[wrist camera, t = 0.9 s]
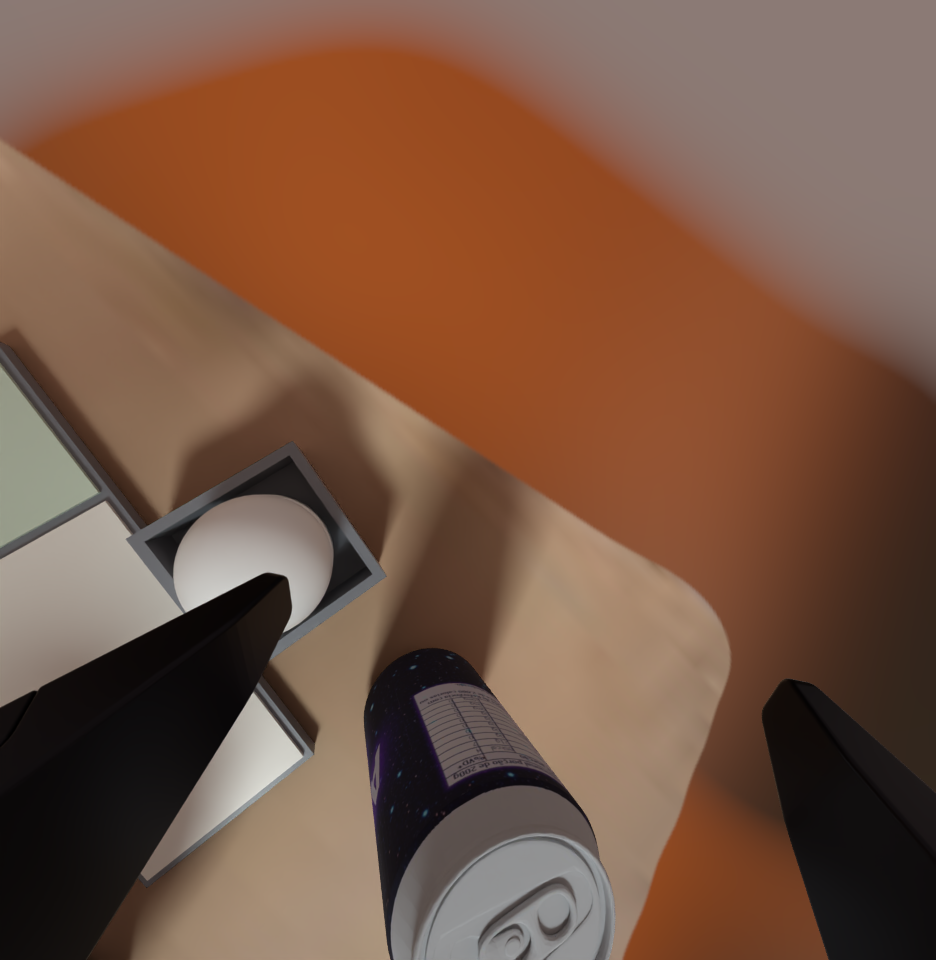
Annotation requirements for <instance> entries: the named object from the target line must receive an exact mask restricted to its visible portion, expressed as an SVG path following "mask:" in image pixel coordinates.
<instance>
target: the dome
mask: <svg viewBox="0 0 936 960" xmlns="http://www.w3.org/2000/svg"><path fill="white" fill-rule="evenodd" d="M333 558H334V548H333V541H332V537H331V534H330V531H329V529H328V527H327V525H326V524H325V522H324V520H323V519H322V518H321V517H320V515H319V514H318V513H317V512H316V511H315V510H313V509H312V508H311V507H309V506H308V505H307V504H305V503H303V502H301V501H299V500H297V499H294V498H291V497H287V496H283V495H247V496H242V497H238V498H234V499H231V500H228V501H226V502H223V503H221V504H219V505H217V506H215V507H213V508H212V509H210V510H209V511H207V512H206V513H205V514H203V515H202V516H201V517H200V518H199V519H198V520H197V521H196V522H195V523H194V524H193V525H192V526H191V528H190V529H189V530H188V531H187V533H186V534H185V536H184V537H183V539H182V541H181V543H180V545H179V547H178V550H177V553H176V556H175V561H174V568H173V578H174V586H175V590H176V594H177V597H178V599H179V601H180V604H181V606H182V607H183V609H184V610H185V612H188V611H190V610H192V609H194V608H196V607H198V606H200V605H202V604H204V603H206V602H208V601H209V600H211V599H213V598H215V597H217V596H219V595H221V594H223V593H225V592H227V591H229V590H231V589H233V588H235V587H237V586H239V585H241V584H243V583H245V582H247V581H249V580H251V579H253V578H255V577H256V576H258V575H260V574H263V573H266V572H270V573H275V574H280V575H284V576H286V577H287V578H288V581H289V586H290V593H291V601H292V613H291V616H290V619H289V621H288V623H287V625H286V627H285V629H284V631H283V633H284V632H286V631H288V630H290V629H291V628H293V627H294V626H296V625H298V624H299V623H300V622H302V621H303V620H304V619H305V618H307V617H308V616H309V615H310V614H311V613H312V612H313V611H314V609H315V608H316V607H317V605H318V604H319V603H320V601H321V600H322V598H323V596H324V594H325V592H326V590H327V588H328V585H329V582H330V579H331V575H332V568H333Z"/></svg>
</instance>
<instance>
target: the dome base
mask: <svg viewBox="0 0 936 960" xmlns="http://www.w3.org/2000/svg"><path fill="white" fill-rule="evenodd" d="M247 495H283V496H287V497H291V498H294V499H297V500H299V501H301V502H303V503H305V504H307V505H308V506H309V507H311V508H312V509H313V510H315V511H316V512H317V513H318V514H319V515H320V517H321V518H322V519H323V520H324V522H325V524H326V525H327V527H328V529H329V531H330V534H331V537H332V541H333V548H334V558H333V568H332V575H331V579H330V582H329V585H328V588H327V590H326V592H325V594H324V596H323V598H322V600H321V601H320V603H319V604H318V605H317V607H316V608H315V609H314V611H313V612H312V613H311V614H310V615H309V616H308V617H307V618H305V619H304V620H303V621H302V622H300V623H299V624H298V625H296V626H294V627H293V628H291V629H290V630H288V631H286V632H284V633H282V635H281V637H280V639H279V641H278V644H277V646H276V648H275V650H274V652H273V654H272V656H271V658H270V660H271V659H272V658H274V657H275V656H276V655H278V654H279V653H281V652H282V651H283V650H285V649H286V648H288V647H289V646H290V645H292V644H293V643H295V642H296V641H297V640H299V639H300V638H302V637H303V636H304V635H306V634H307V633H308V632H310V631H311V630H313V629H314V628H315V627H317V626H318V625H320V624H321V623H322V622H324V621H325V620H327V619H328V618H329V617H331V616H332V615H334V614H335V613H336V612H338V611H339V610H341V609H342V608H343V607H345V606H346V605H347V604H349V603H350V602H352V601H353V600H354V599H356V598H357V597H359V596H360V595H361V594H363V593H364V592H366V591H367V590H368V589H370V588H371V587H373V586H374V585H375V584H377V583H378V582H380V581H381V580H382V579H384V578H385V577H387V576H386V574H385V573H384V571H383V569H382V567H381V566H380V564H379V562H378V561H377V559H376V558H375V556H374V555H373V554H372V552H371V551H370V549H369V548H368V546H367V545H366V544H365V542H364V541H363V539H362V538H361V536H360V535H359V533H358V532H357V531H356V529H355V528H354V526H353V525H352V523H351V522H350V520H349V519H348V518H347V516H346V515H345V513H344V512H343V510H342V509H341V507H340V506H339V505H338V503H337V502H336V500H335V499H334V497H333V496H332V494H331V493H330V492H329V490H328V489H327V487H326V486H325V484H324V483H323V481H322V480H321V479H320V477H319V476H318V474H317V473H316V471H315V470H314V468H313V467H312V466H311V464H310V463H309V461H308V460H307V458H306V457H305V455H304V454H303V453H302V451H301V450H300V449H299V447H298V446H297V445H296V444H295V443H294V442H293V441H291V442H290V443H288V444H286V445H285V446H283V447H281V448H280V449H278V450H276V451H274V452H273V453H271V454H269V455H268V456H266V457H264V458H262V459H261V460H259V461H257V462H256V463H254V464H252V465H251V466H249V467H247V468H245V469H244V470H242V471H240V472H239V473H237V474H235V475H234V476H232V477H230V478H228V479H227V480H225V481H223V482H222V483H220V484H218V485H216V486H215V487H213V488H211V489H210V490H208V491H206V492H205V493H203V494H201V495H199V496H198V497H196V498H194V499H193V500H191V501H189V502H188V503H186V504H184V505H182V506H181V507H179V508H177V509H176V510H174V511H172V512H170V513H169V514H167V515H165V516H164V517H162V518H160V519H159V520H157V521H155V522H153V523H152V524H150V525H148V526H147V527H145V528H143V529H141V530H140V531H138V532H136V533H135V534H133V535H131V536H130V537H128V538H126V540H127V542H128V543H129V544H130V546H131V547H132V548H133V549H134V551H135V552H136V553H137V555H138V556H139V557H140V558H141V560H142V561H143V562H144V564H145V565H146V566H147V567H148V569H149V570H150V571H151V573H152V574H153V575H154V576H155V578H156V579H157V580H158V581H159V583H160V584H161V585H162V587H163V588H164V589H165V590H166V592H167V593H168V594H169V596H170V597H171V598H172V599H173V601H174V602H175V603H176V605H177V606H178V607H179V608H180V610H181V611H182V612H183V614H184V613H186V612H185V610H184V609H183V607H182V606H181V604H180V601H179V599H178V597H177V594H176V590H175V586H174V578H173V568H174V561H175V556H176V553H177V550H178V547H179V545H180V543H181V541H182V539H183V537H184V536H185V534H186V533H187V531H188V530H189V529H190V528H191V526H192V525H193V524H194V523H195V522H196V521H197V520H198V519H199V518H200V517H201V516H202V515H203V514H205V513H206V512H207V511H209V510H210V509H212V508H213V507H215V506H217V505H219V504H221V503H223V502H226V501H228V500H231V499H234V498H238V497H242V496H247Z"/></svg>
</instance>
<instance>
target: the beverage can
mask: <svg viewBox="0 0 936 960" xmlns="http://www.w3.org/2000/svg"><path fill="white" fill-rule="evenodd" d="M364 729H365V739H366V748H367V758H368V767H369V777H370V786H371V795H372V805H373V814H374V824H375V833H376V843H377V852H378V861H379V871H380V880H381V890H382V899H383V909H384V918H385V927H386V937H387V945H388V951H389V955H390V959H391V960H609V957H610V953H611V950H612V944H613V938H614V932H615V904H614V897H613V892H612V888H611V884H610V881H609V878H608V875H607V873H606V871H605V869H604V867H603V865H602V863H601V861H600V858H599V852H598V847H597V842H596V838H595V835H594V832H593V829H592V827H591V824H590V822H589V820H588V818H587V816H586V815H585V813H584V812H583V810H582V809H581V807H580V806H579V805H578V803H577V802H576V801H575V800H574V798H573V797H572V796H571V794H570V793H569V792H568V790H567V789H566V788H565V787H564V785H563V784H562V783H561V781H560V780H559V779H558V777H557V776H556V775H555V774H554V772H553V771H552V770H551V768H550V767H549V766H548V764H547V763H546V762H545V761H544V759H543V758H542V757H541V755H540V754H539V753H538V751H537V750H536V749H535V748H534V746H533V745H532V744H531V742H530V741H529V740H528V738H527V737H526V736H525V735H524V733H523V732H522V731H521V729H520V728H519V727H518V725H517V724H516V723H515V722H514V720H513V719H512V718H511V716H510V715H509V714H508V712H507V711H506V710H505V709H504V707H503V706H502V705H501V703H500V702H499V701H498V699H497V698H496V697H495V696H494V694H493V693H492V692H491V690H490V689H489V688H488V686H487V685H486V684H485V683H484V681H483V680H482V679H481V677H480V676H479V675H478V673H477V672H476V671H475V670H474V668H473V667H472V666H471V665H470V664H469V663H468V662H467V661H466V660H465V659H464V658H462V657H461V656H459V655H458V654H456V653H453V652H451V651H448V650H444V649H438V648H427V649H420V650H416V651H413V652H410V653H408V654H406V655H404V656H402V657H400V658H398V659H397V660H395V661H394V662H393V663H391V664H390V665H389V666H388V667H387V668H386V669H385V670H384V671H383V672H382V673H381V674H380V676H379V677H378V678H377V680H376V681H375V683H374V685H373V686H372V688H371V690H370V693H369V695H368V698H367V701H366V705H365V710H364Z"/></svg>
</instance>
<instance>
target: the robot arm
mask: <svg viewBox="0 0 936 960" xmlns="http://www.w3.org/2000/svg"><path fill="white" fill-rule="evenodd" d="M291 613H292V601H291V593H290V586H289V581H288V578H287V577H286V576H284V575H280V574H275V573H270V572H266V573H263V574H260V575H258V576H256V577H255V578H253V579H251V580H249V581H247V582H245V583H243V584H241V585H239V586H237V587H235V588H233V589H231V590H229V591H227V592H225V593H223V594H221V595H219V596H217V597H215V598H213V599H211V600H209V601H208V602H206V603H204V604H202V605H200V606H198V607H196V608H194V609H192V610H190V611H188V612H186V613H184V614H182V615H180V616H178V617H176V618H174V619H172V620H170V621H168V622H166V623H164V624H162V625H161V626H159V627H157V628H155V629H153V630H151V631H149V632H147V633H145V634H143V635H141V636H139V637H137V638H135V639H133V640H131V641H129V642H127V643H125V644H123V645H121V646H119V647H117V648H115V649H114V650H112V651H110V652H108V653H106V654H104V655H102V656H100V657H98V658H96V659H94V660H92V661H90V662H88V663H86V664H84V665H82V666H80V667H78V668H76V669H74V670H72V671H70V672H68V673H67V674H65V675H63V676H61V677H59V678H57V679H55V680H53V681H51V682H49V683H47V684H45V685H43V686H41V687H40V688H39V689H38V691H36V690H33V691H31V692H29V693H27V694H25V695H23V696H21V697H19V698H17V699H15V700H13V701H11V702H9V703H7V704H5V705H4V706H2V707H0V960H87V958H88V957H89V955H90V954H91V952H92V950H93V949H94V947H95V946H96V944H97V942H98V941H99V939H100V938H101V936H102V934H103V933H104V931H105V930H106V928H107V926H108V925H109V923H110V922H111V920H112V918H113V917H114V915H115V914H116V912H117V910H118V909H119V907H120V906H121V904H122V902H123V901H124V899H125V898H126V896H127V894H128V893H129V891H130V890H131V888H132V886H133V885H134V883H135V882H136V880H137V878H138V877H139V875H140V873H141V872H142V870H143V869H144V867H145V865H146V864H147V862H148V861H149V859H150V857H151V856H152V854H153V853H154V851H155V849H156V848H157V846H158V845H159V843H160V841H161V840H162V838H163V837H164V835H165V833H166V832H167V830H168V829H169V827H170V825H171V824H172V822H173V821H174V819H175V817H176V816H177V814H178V813H179V811H180V809H181V808H182V806H183V805H184V803H185V801H186V800H187V798H188V797H189V795H190V793H191V792H192V790H193V789H194V787H195V785H196V784H197V782H198V780H199V779H200V777H201V776H202V774H203V772H204V771H205V769H206V768H207V766H208V764H209V763H210V761H211V760H212V758H213V756H214V755H215V753H216V752H217V750H218V748H219V747H220V745H221V744H222V742H223V740H224V739H225V737H226V736H227V734H228V732H229V731H230V729H231V728H232V726H233V724H234V723H235V721H236V720H237V718H238V716H239V715H240V713H241V712H242V710H243V708H244V707H245V705H246V703H247V702H248V700H249V698H250V697H251V695H252V693H253V691H254V690H255V688H256V686H257V684H258V682H259V680H260V678H261V676H262V674H263V672H264V670H265V668H266V666H267V664H268V662H269V660H270V658H271V656H272V654H273V652H274V650H275V648H276V646H277V644H278V641H279V639H280V637H281V635H282V633H283V631H284V629H285V627H286V625H287V623H288V621H289V619H290V616H291ZM762 723H763V727H764V733H765V737H766V741H767V746H768V751H769V755H770V760H771V764H772V769H773V773H774V778H775V783H776V787H777V792H778V796H779V801H780V805H781V809H782V813H783V817H784V821H785V824H786V827H787V831H788V834H789V837H790V841H791V844H792V847H793V850H794V853H795V856H796V859H797V863H798V866H799V868H800V872H801V875H802V878H803V881H804V884H805V887H806V891H807V894H808V897H809V900H810V903H811V906H812V909H813V912H814V916H815V919H816V922H817V925H818V928H819V931H820V934H821V937H822V940H823V943H824V947H825V949H826V953H827V956H828V959H829V960H936V793H935V792H934V791H933V790H932V789H931V788H930V787H929V786H927V785H926V784H925V783H924V782H923V781H922V780H921V779H920V778H918V777H917V776H916V775H915V774H914V773H913V772H912V771H911V770H909V769H908V768H907V767H906V766H905V765H904V764H903V763H902V762H901V761H899V760H898V759H897V758H896V757H895V756H894V755H893V754H892V753H890V752H889V751H888V750H887V749H886V748H885V747H884V746H883V745H881V744H880V743H879V742H878V741H877V740H876V739H875V738H874V737H873V736H871V735H870V734H869V733H868V732H867V731H866V730H865V729H864V728H862V727H861V726H860V725H859V724H858V723H857V722H856V721H854V720H853V719H852V718H851V717H850V716H849V715H848V714H847V713H846V712H845V711H843V710H842V709H841V708H840V707H839V706H838V705H837V704H836V703H834V702H833V701H832V700H831V699H830V698H829V697H828V696H826V695H825V694H824V693H823V692H822V691H821V690H820V689H818V688H817V687H816V686H815V685H813V684H811V683H808V682H802V681H798V680H793V679H784V680H782V681H781V682H780V683H779V684H778V686H777V687H776V689H775V690H774V692H773V693H772V695H771V696H770V698H769V699H768V701H767V702H766V704H765V705H764V707H763V710H762Z"/></svg>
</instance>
